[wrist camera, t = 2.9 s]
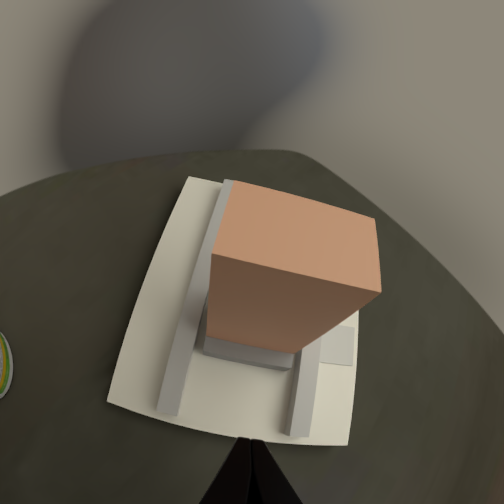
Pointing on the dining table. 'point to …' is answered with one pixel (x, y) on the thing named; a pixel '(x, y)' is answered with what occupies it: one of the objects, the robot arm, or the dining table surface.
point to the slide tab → (285, 275)
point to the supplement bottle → (5, 366)
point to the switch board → (218, 370)
